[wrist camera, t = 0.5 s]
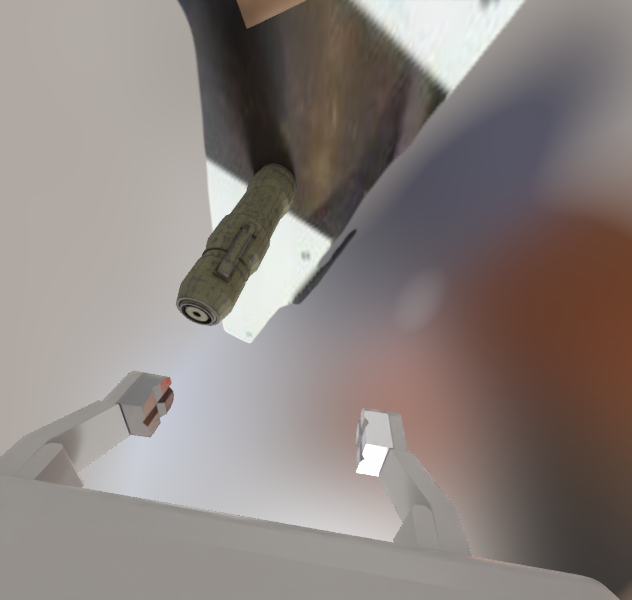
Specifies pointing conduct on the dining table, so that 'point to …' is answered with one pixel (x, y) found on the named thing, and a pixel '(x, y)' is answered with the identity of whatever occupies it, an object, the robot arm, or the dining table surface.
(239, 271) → the thermos
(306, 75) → the dining table surface
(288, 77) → the dining table surface
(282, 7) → the block
